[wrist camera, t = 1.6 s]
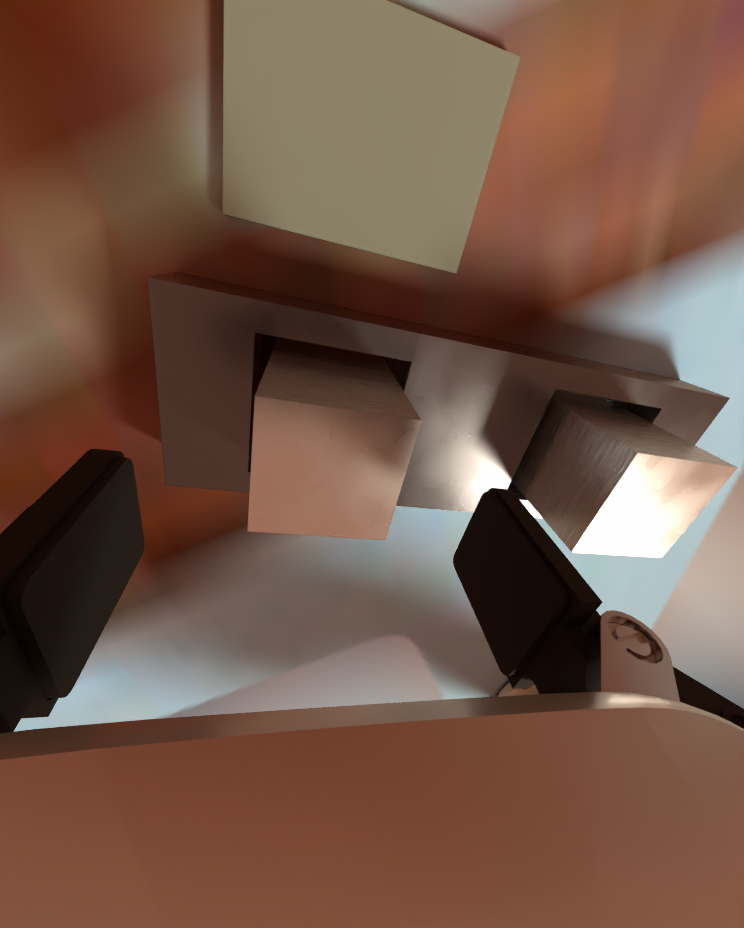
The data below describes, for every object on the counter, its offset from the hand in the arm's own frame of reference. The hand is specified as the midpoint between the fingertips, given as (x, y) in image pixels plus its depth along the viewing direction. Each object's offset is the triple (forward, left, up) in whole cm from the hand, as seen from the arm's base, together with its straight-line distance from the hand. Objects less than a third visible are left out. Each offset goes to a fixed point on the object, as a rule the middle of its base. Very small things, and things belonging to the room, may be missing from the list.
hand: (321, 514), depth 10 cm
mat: (+10, 0, -10) cm, 15 cm away
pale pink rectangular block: (0, 0, -11) cm, 10 cm away
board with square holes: (0, -7, -10) cm, 13 cm away
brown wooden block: (0, -14, -11) cm, 18 cm away
